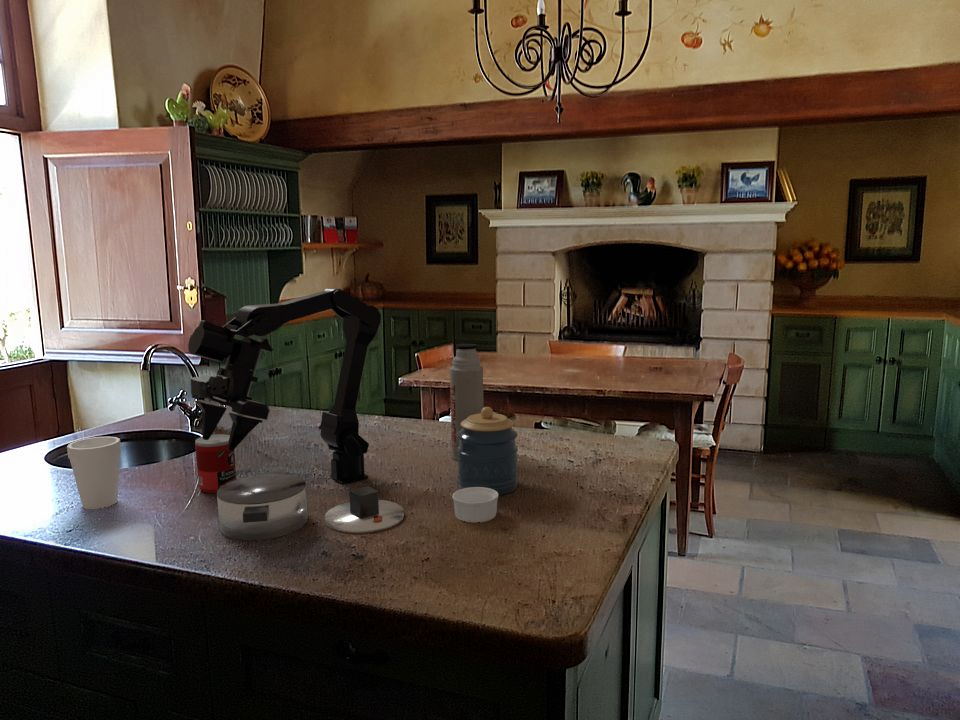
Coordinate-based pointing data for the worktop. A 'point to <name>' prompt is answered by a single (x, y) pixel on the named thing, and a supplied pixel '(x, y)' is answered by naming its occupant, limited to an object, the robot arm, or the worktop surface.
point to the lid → (364, 513)
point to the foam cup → (96, 470)
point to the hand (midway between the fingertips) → (217, 444)
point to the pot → (262, 506)
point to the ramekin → (475, 504)
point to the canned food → (214, 463)
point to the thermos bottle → (464, 389)
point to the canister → (487, 452)
